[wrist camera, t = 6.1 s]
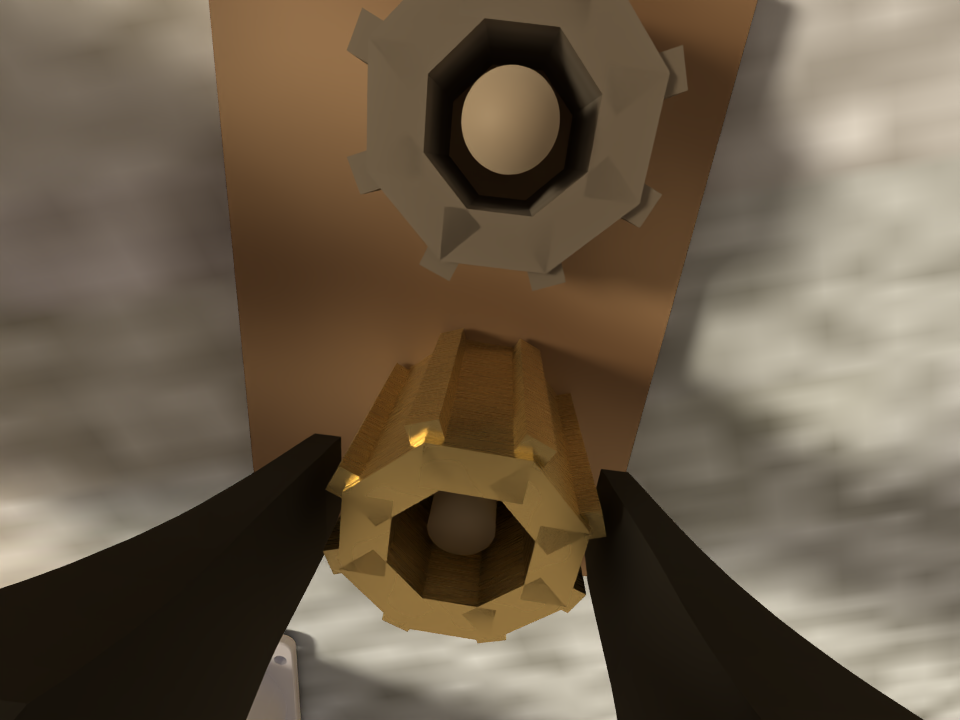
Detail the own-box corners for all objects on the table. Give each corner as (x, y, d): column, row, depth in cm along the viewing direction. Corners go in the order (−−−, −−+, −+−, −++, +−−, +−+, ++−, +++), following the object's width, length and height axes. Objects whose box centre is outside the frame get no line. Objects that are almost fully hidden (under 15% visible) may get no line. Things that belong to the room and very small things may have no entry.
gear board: (590, 549, 16) (624, 710, 12) (276, 509, 16) (181, 652, 12) (740, -16, 10) (948, -177, 5) (232, -76, 10) (-12, -283, 5)
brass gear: (589, 347, 12) (638, 459, 8) (547, 503, 14) (565, 666, 10) (394, 313, 12) (324, 406, 8) (378, 474, 14) (316, 626, 10)
